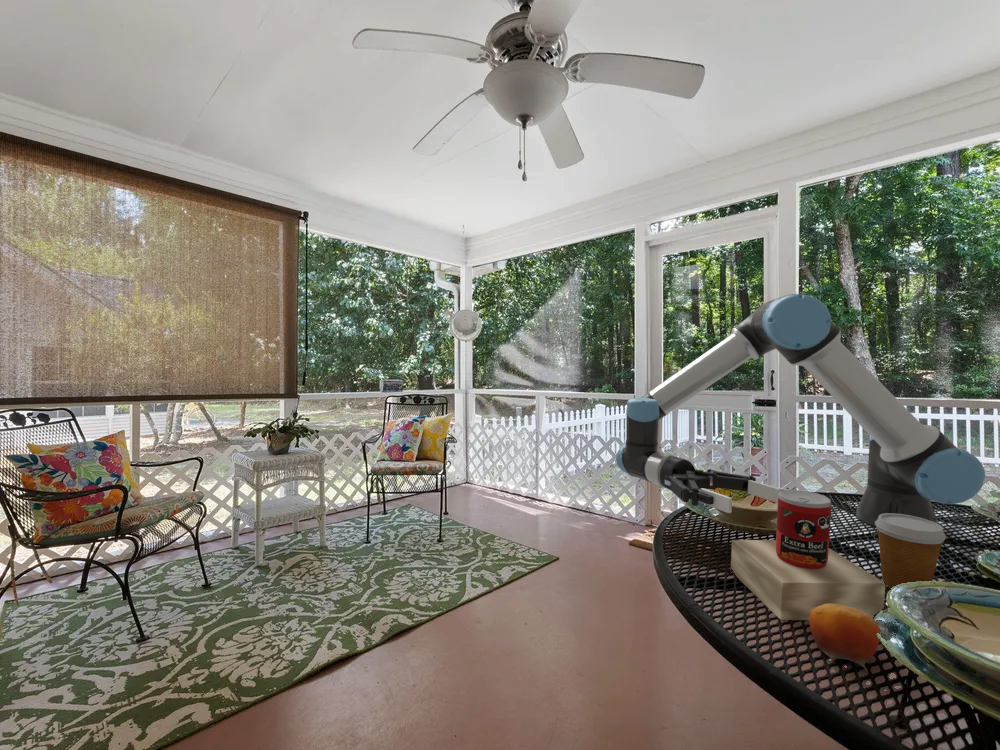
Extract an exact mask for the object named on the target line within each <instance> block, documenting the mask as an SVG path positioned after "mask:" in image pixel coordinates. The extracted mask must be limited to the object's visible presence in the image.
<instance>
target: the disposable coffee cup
mask: <svg viewBox="0 0 1000 750" xmlns="http://www.w3.org/2000/svg"><path fill="white" fill-rule="evenodd" d="M875 525H876V526H875V528H876V530H877V535H878V544H879V545H878V546H879V555H880V556H879V558H880V566H881V567H880V568H881V579H882V580H883V581H884V582H885V583H886V584H887V585H888V586H889V588H892V587H893V586H896V585H898V584H901V583H907V582H916V581H932V582H933V579H934V576H935V571H936V568H937V563H938V561H939V560H938V559H939V556H940V551H941V548H942V544H943V543H944V542H945V540H946V539H947V535H946V534H945V532H944V528H943V526H942V525H940V524H939V523H938V524H937V523H935V522H932V521H929V520H926V519H923V518H919V517H915V516H910V515H904V514H894V513H885V514H880V515H879V517H878V519H877V520H876V521H875ZM882 580H881V581H882ZM889 588H888V589H889Z"/></svg>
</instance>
